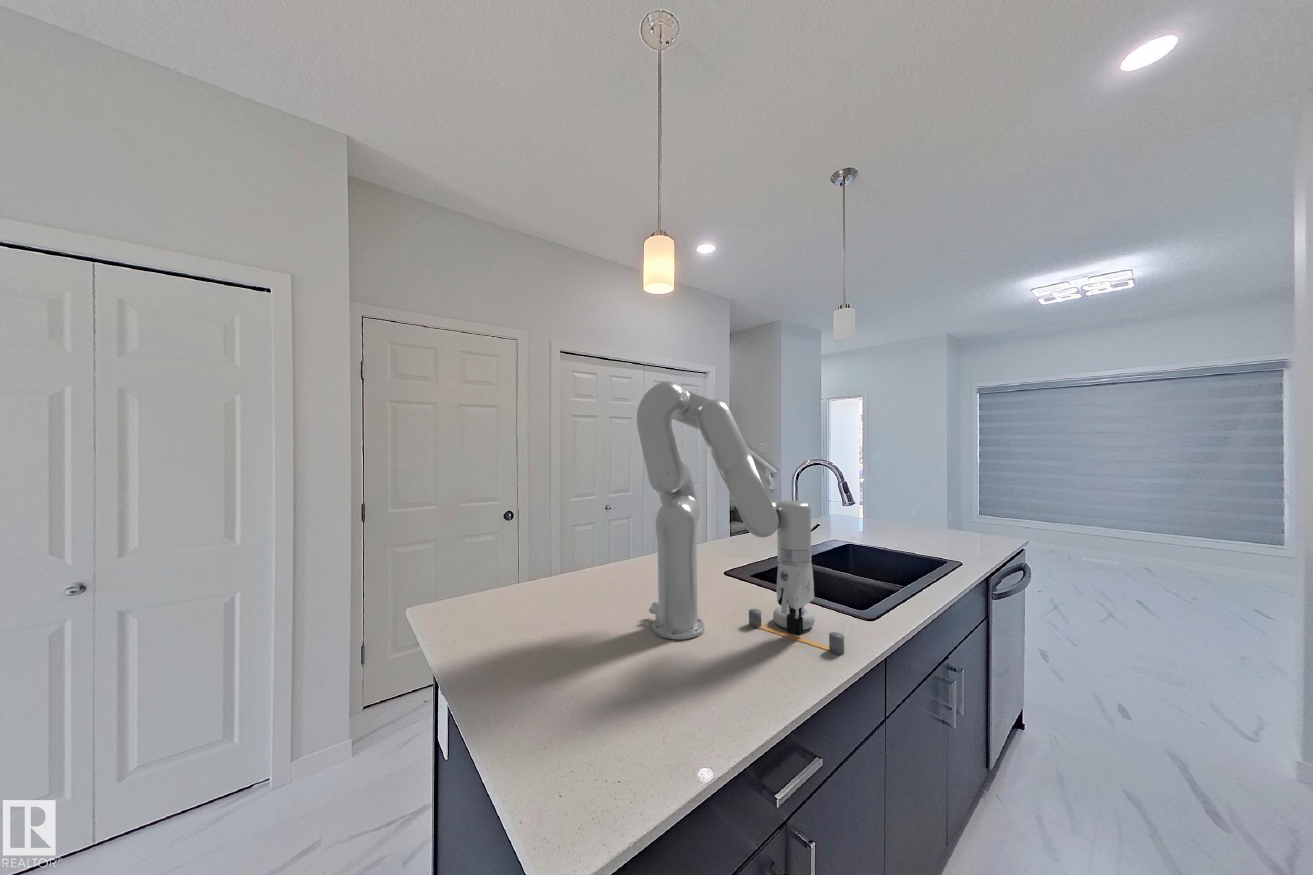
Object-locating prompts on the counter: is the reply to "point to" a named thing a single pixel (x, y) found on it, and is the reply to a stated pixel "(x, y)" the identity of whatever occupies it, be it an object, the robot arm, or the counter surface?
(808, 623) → the donut
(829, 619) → the counter surface
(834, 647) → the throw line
